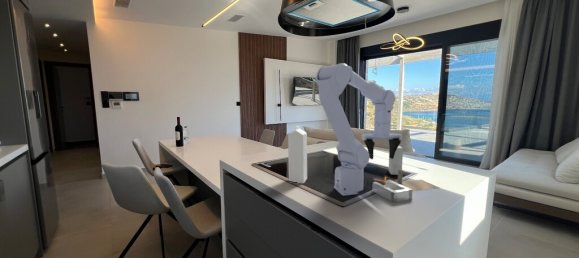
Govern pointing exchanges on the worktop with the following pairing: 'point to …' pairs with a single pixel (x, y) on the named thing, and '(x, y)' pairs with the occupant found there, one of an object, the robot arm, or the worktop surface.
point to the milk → (297, 155)
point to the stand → (415, 183)
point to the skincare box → (396, 161)
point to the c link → (393, 191)
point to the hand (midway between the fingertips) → (381, 158)
